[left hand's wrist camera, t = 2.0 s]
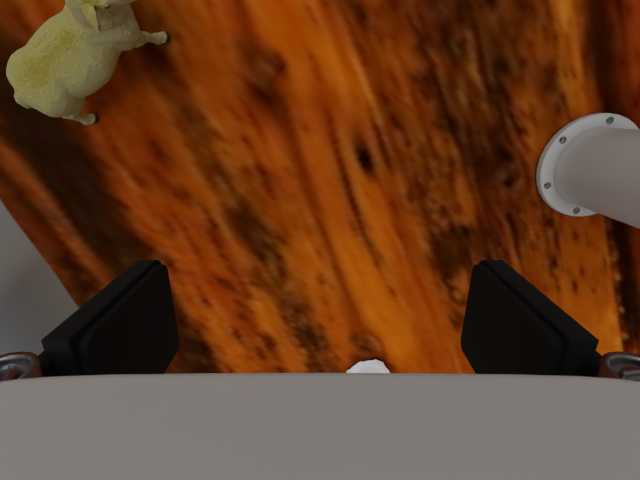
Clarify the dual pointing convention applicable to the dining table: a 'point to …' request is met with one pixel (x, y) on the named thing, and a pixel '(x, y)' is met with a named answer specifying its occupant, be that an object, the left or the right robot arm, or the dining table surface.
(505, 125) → the dining table surface
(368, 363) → the seashell
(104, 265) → the dining table surface
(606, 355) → the left robot arm
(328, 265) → the dining table surface
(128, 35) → the toy
